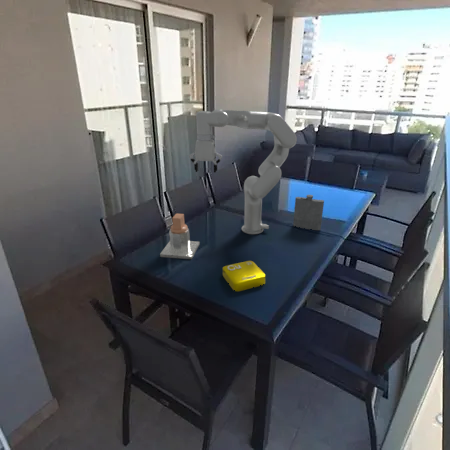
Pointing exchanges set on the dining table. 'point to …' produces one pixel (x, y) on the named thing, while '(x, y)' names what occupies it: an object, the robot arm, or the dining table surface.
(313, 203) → the hip flask
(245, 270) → the element tile
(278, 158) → the robot arm
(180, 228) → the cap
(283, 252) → the dining table surface
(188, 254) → the hex socket plate
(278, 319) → the dining table surface
